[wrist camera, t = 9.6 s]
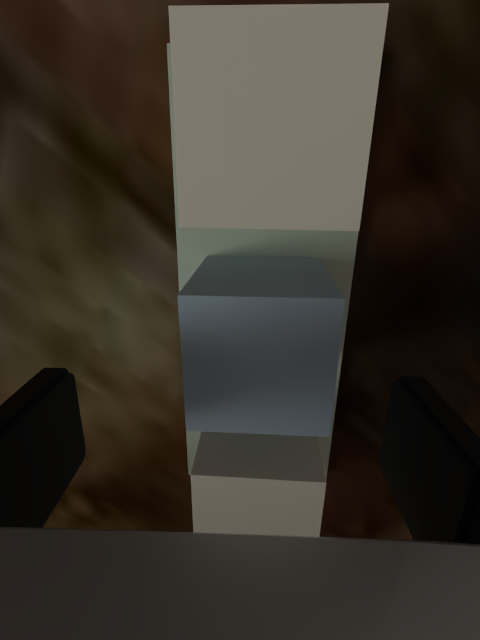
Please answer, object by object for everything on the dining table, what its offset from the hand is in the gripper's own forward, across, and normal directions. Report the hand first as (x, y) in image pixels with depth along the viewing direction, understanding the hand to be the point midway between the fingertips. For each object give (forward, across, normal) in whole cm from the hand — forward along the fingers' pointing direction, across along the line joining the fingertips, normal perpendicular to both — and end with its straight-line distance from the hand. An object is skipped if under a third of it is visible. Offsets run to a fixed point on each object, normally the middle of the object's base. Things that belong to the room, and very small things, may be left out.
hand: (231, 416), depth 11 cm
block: (+7, -1, -1) cm, 8 cm away
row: (+8, -1, -1) cm, 9 cm away
